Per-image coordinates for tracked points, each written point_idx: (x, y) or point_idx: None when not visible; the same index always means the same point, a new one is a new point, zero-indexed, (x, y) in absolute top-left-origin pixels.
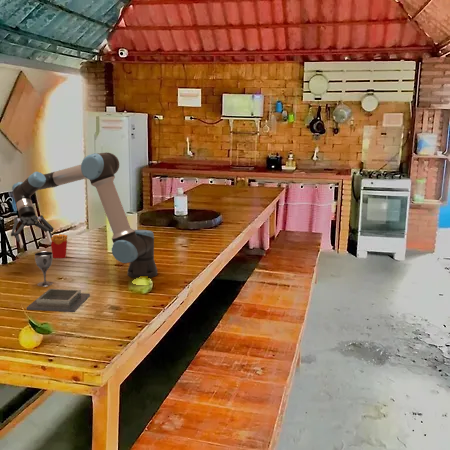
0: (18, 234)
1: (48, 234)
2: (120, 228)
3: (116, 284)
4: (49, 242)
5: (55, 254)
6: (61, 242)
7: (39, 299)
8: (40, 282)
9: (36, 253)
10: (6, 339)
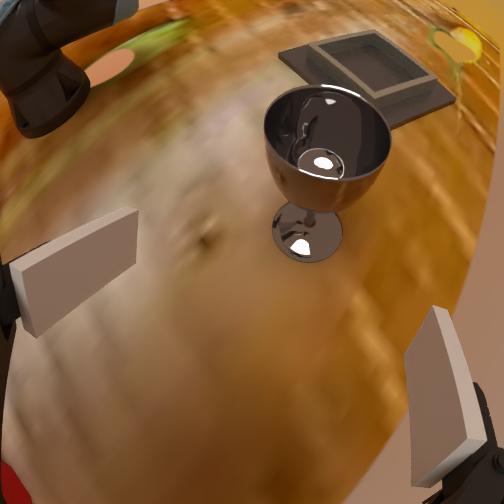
0: (483, 439)
1: (61, 244)
2: None
3: (157, 76)
4: (129, 241)
5: (18, 497)
6: None
7: (431, 72)
8: (312, 257)
9: (358, 179)
10: (497, 62)
